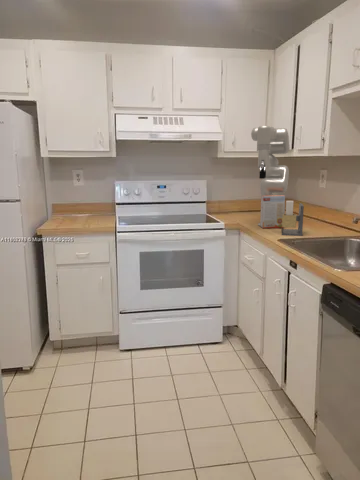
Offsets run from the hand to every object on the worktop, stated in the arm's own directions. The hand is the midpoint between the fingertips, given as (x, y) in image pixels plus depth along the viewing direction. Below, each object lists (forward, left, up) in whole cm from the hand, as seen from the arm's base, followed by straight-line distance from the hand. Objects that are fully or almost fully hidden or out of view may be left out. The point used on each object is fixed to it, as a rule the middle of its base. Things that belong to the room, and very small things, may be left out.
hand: (262, 178), depth 217 cm
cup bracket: (0, +18, -32) cm, 37 cm away
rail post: (0, +16, -27) cm, 32 cm away
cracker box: (-18, +6, -32) cm, 38 cm away
